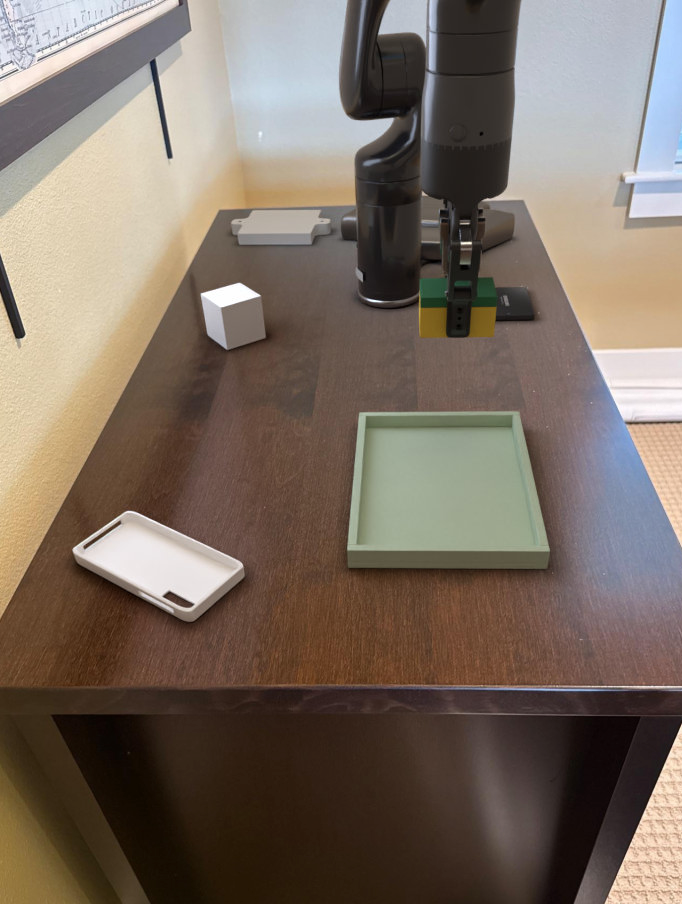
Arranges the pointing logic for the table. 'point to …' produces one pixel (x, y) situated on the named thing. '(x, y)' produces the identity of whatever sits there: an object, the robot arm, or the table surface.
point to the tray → (444, 493)
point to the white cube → (233, 315)
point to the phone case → (160, 564)
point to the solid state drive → (513, 304)
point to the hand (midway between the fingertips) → (455, 323)
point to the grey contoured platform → (495, 230)
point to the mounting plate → (281, 227)
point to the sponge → (436, 308)
